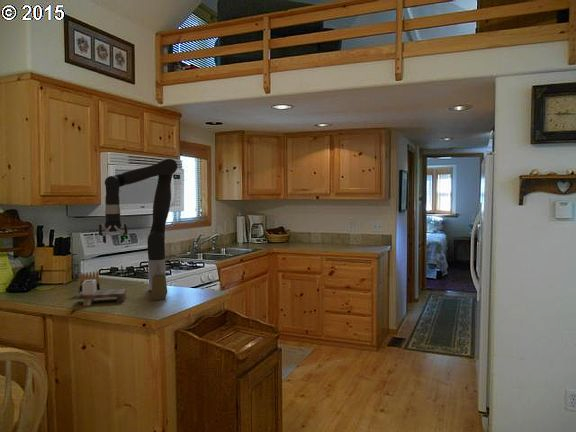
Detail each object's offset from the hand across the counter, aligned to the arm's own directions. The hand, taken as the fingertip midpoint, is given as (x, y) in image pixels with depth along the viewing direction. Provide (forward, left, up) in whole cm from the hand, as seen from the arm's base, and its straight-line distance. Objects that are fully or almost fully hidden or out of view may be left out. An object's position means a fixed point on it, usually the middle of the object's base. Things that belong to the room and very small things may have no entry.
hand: (113, 242), depth 236 cm
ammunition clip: (+14, -6, -28) cm, 32 cm away
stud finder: (+10, +16, -24) cm, 30 cm away
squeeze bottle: (-24, +20, -28) cm, 42 cm away
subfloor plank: (+4, +16, -28) cm, 33 cm away
